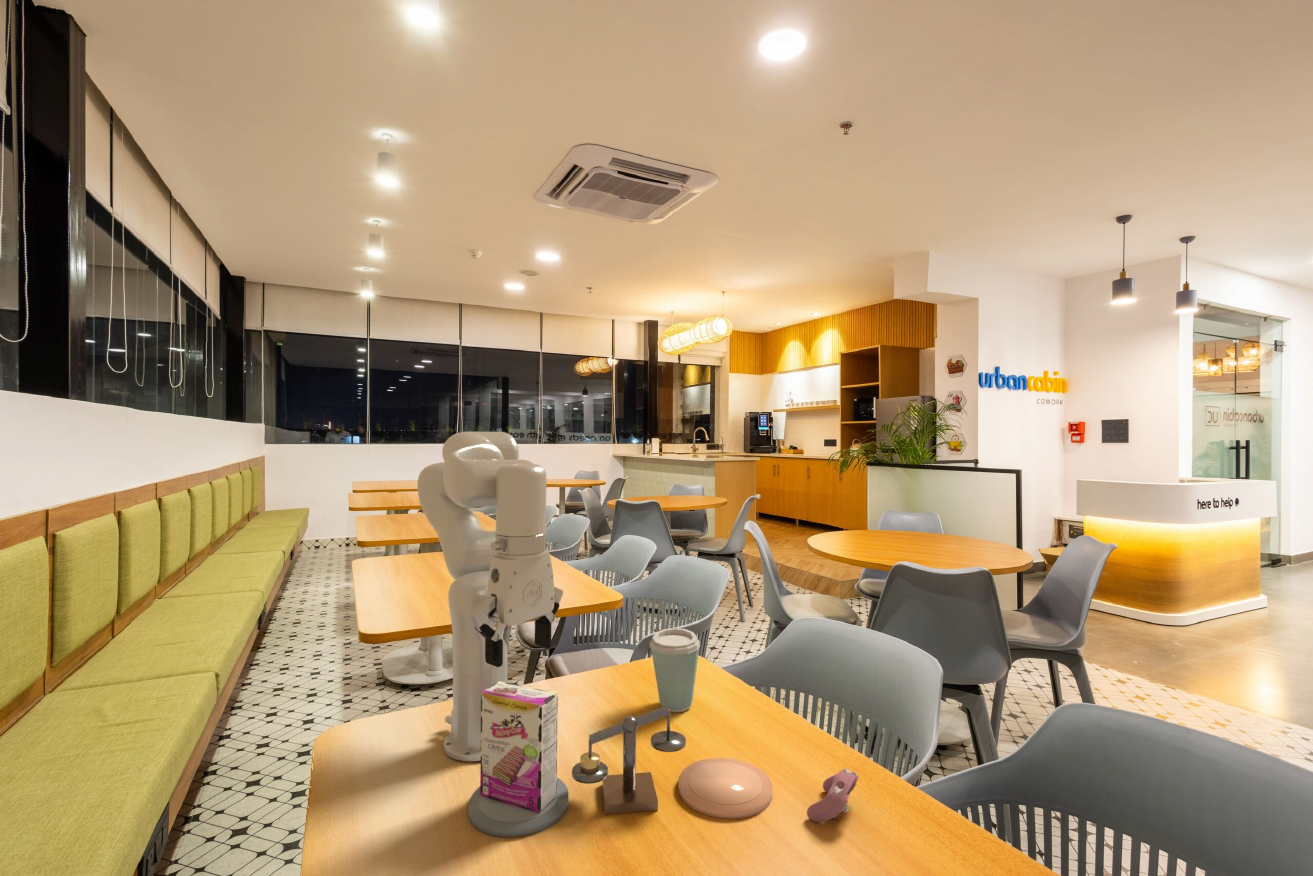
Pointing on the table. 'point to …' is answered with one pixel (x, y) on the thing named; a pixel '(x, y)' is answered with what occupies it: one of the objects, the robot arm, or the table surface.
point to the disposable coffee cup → (675, 667)
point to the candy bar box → (519, 745)
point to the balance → (627, 765)
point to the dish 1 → (515, 815)
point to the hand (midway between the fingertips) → (519, 655)
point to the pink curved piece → (833, 796)
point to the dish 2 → (725, 788)
